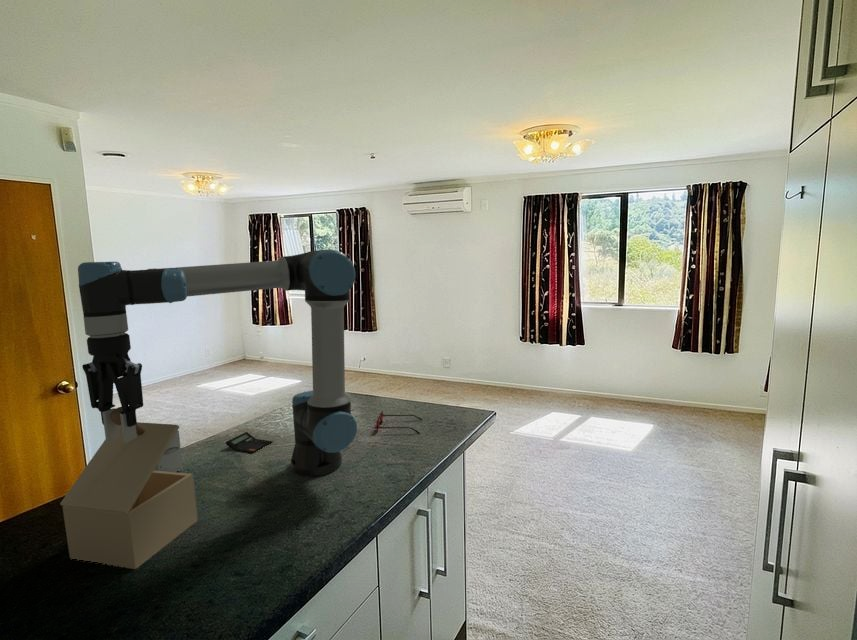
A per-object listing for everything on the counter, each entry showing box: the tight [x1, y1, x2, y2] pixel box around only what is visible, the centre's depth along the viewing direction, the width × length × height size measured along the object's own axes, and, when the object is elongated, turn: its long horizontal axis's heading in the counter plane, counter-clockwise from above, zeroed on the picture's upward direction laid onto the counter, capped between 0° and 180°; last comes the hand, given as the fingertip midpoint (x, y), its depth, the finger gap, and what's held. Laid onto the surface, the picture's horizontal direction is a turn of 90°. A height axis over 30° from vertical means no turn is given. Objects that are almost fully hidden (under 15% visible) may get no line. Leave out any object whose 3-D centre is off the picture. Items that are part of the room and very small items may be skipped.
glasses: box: [373, 410, 423, 435], centre depth 170 cm, size 14×16×5 cm
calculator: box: [225, 431, 274, 454], centre depth 157 cm, size 9×12×3 cm
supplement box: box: [154, 430, 184, 473], centre depth 138 cm, size 7×7×13 cm
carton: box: [62, 470, 198, 570], centre depth 105 cm, size 17×18×12 cm
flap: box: [59, 406, 180, 514], centre depth 98 cm, size 17×20×10 cm
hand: (121, 439), depth 101 cm, fingers closed on flap, 4 cm apart
